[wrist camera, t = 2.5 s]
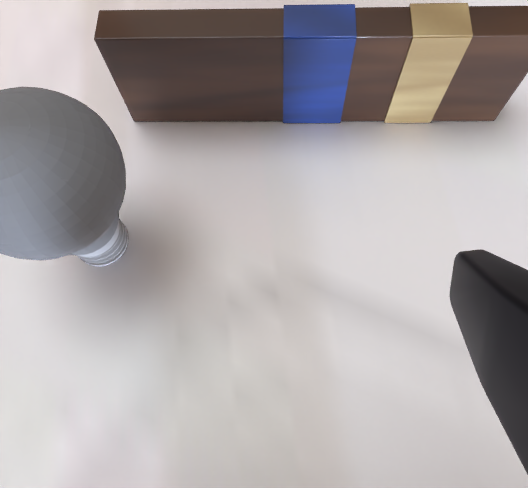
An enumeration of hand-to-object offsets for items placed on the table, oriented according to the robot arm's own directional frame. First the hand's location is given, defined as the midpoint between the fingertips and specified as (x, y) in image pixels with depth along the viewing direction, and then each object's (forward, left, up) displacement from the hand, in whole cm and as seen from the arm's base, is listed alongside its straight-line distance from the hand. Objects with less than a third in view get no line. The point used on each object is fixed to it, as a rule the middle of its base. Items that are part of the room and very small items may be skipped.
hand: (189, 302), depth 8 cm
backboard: (+12, +10, -14) cm, 21 cm away
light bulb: (-1, +9, -14) cm, 17 cm away
